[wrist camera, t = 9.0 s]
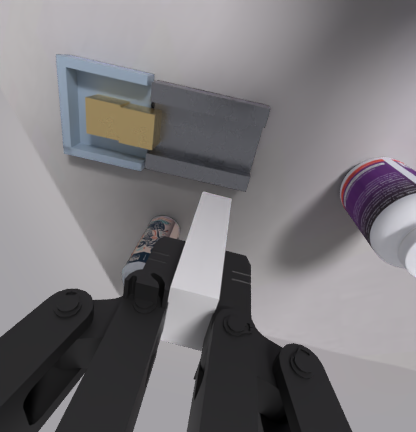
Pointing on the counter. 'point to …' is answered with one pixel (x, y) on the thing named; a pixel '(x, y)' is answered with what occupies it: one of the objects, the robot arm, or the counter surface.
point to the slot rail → (206, 135)
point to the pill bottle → (384, 208)
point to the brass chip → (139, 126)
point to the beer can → (150, 242)
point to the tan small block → (103, 115)
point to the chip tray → (104, 85)
